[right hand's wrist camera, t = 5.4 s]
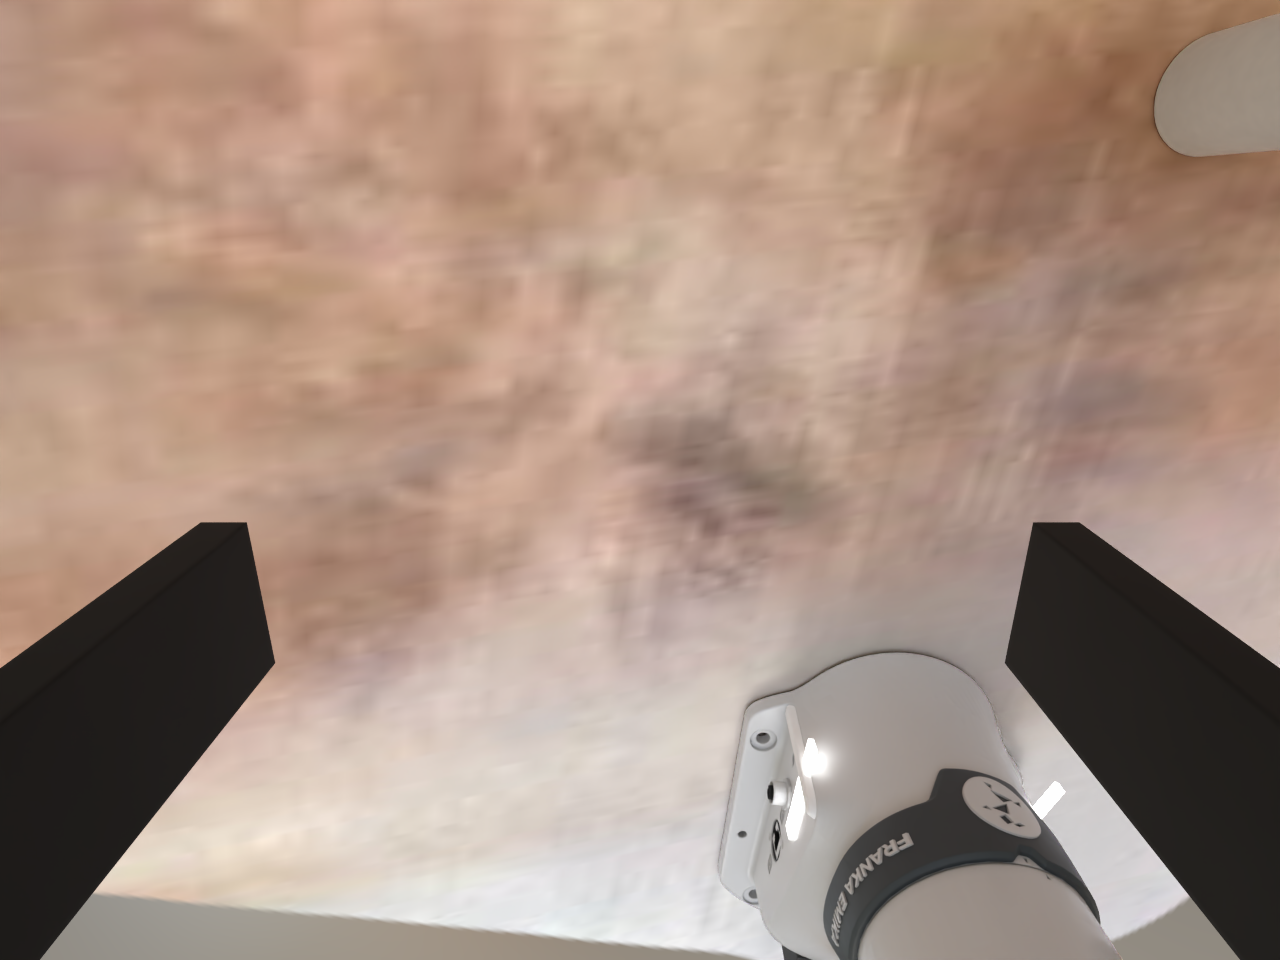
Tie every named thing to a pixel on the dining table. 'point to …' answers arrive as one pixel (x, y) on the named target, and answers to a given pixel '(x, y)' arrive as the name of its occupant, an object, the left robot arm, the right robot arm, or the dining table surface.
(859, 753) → the left robot arm
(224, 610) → the right robot arm
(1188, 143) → the bottle
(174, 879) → the dining table surface
